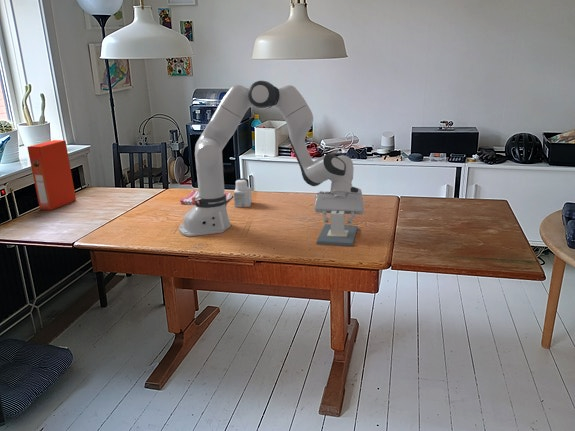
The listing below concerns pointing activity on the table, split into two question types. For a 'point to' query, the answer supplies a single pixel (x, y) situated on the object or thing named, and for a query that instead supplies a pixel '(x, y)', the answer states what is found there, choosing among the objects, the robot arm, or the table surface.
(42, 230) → the table surface
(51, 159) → the file binder
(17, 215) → the table surface
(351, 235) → the header board
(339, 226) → the block
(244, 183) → the container
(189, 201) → the dish towel
